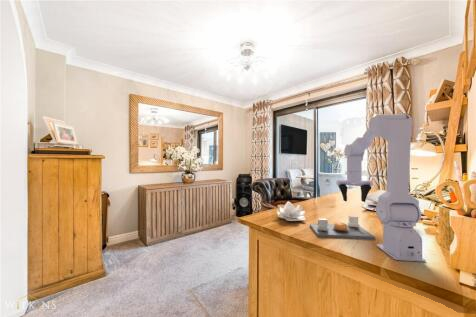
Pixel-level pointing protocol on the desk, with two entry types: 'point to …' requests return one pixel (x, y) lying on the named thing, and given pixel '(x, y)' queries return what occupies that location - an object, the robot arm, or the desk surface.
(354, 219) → the toggle lever
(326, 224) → the grey slider knob
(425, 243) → the desk surface
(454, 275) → the desk surface
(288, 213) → the lotus flower
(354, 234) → the panel
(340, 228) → the push button
